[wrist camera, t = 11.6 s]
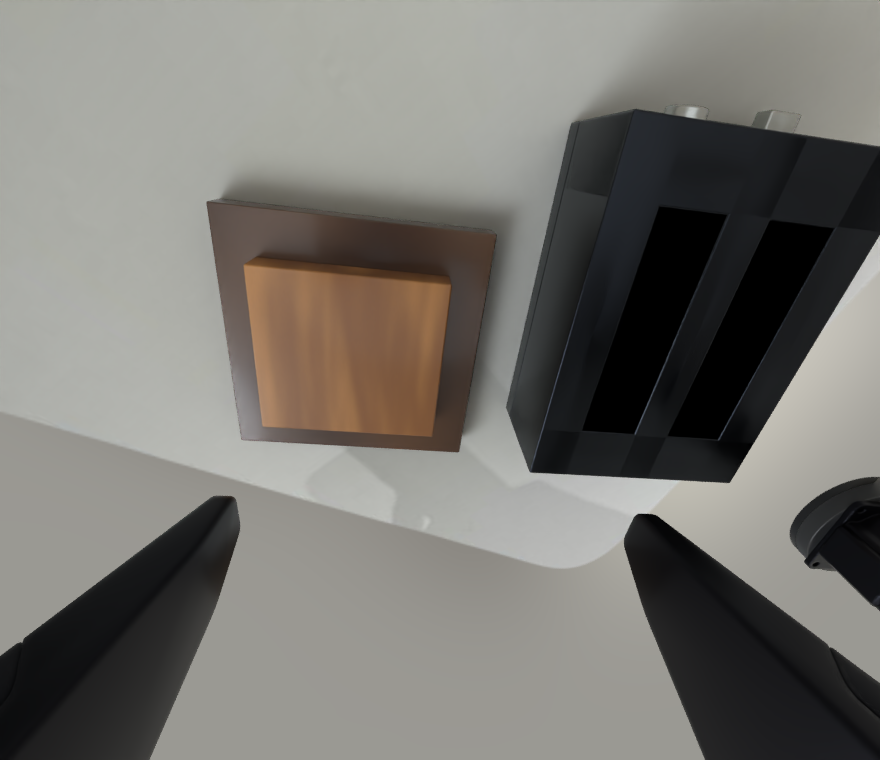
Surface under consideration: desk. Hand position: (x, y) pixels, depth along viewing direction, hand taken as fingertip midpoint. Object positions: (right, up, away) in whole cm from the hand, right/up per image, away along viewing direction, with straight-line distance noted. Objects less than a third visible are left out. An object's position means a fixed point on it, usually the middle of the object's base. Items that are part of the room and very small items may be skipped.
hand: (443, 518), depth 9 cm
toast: (0, +4, +10) cm, 11 cm away
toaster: (+10, +7, +11) cm, 16 cm away
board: (-4, +5, +12) cm, 14 cm away
